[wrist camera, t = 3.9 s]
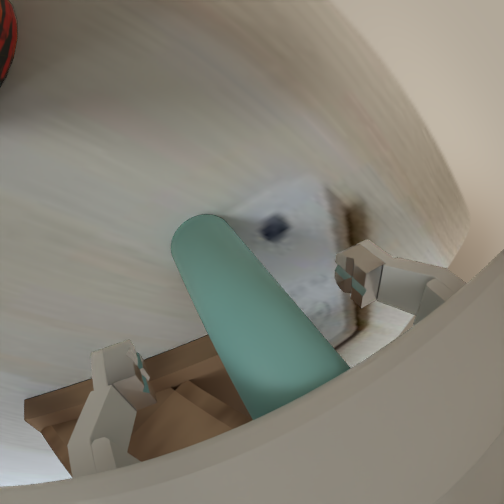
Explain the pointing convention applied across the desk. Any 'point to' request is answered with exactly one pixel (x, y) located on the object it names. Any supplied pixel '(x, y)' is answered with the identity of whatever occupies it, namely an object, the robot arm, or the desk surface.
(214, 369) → the wooden desk organizer
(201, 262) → the peg
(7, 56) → the deodorant
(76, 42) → the desk surface
